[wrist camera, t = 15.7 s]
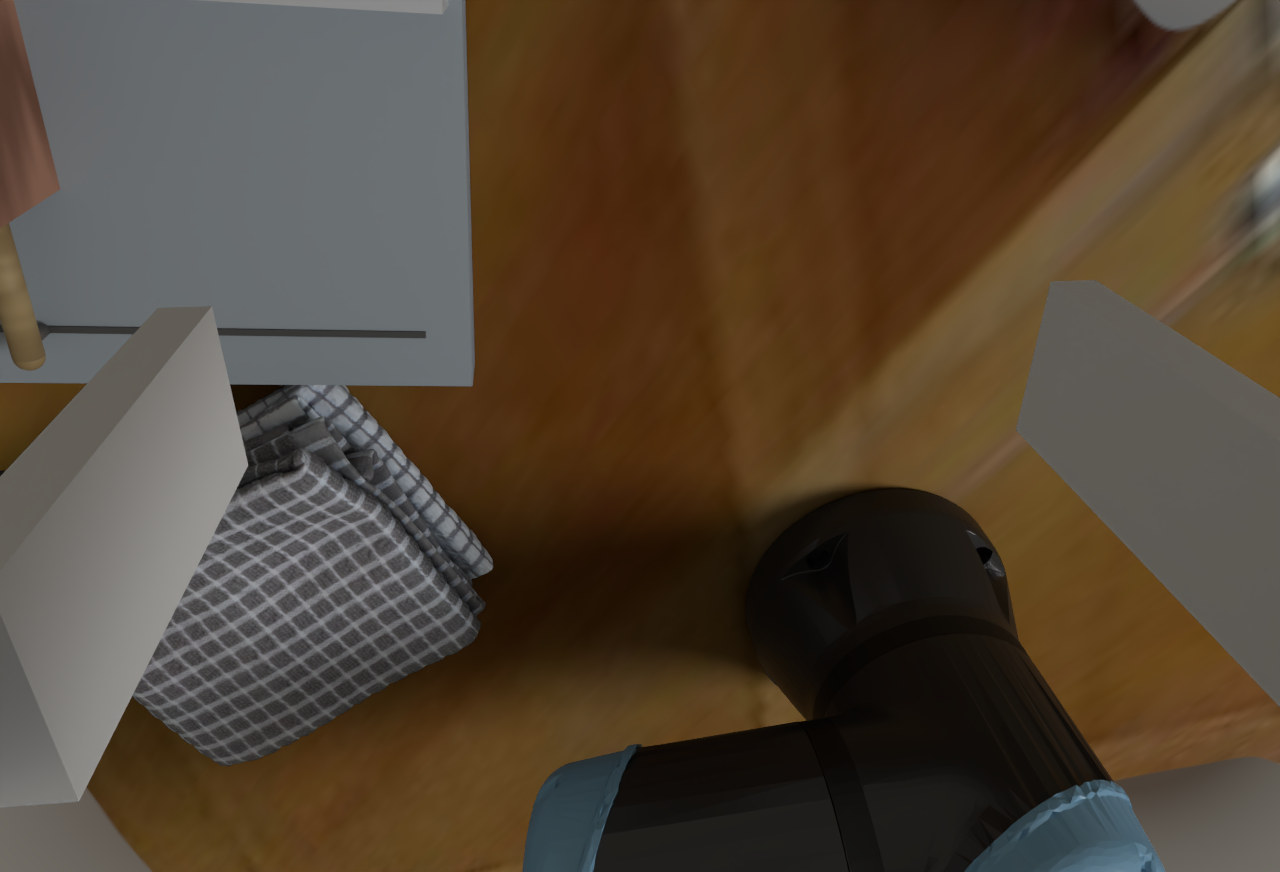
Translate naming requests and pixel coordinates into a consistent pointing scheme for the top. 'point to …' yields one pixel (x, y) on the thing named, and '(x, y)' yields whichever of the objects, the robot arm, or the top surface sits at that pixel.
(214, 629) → the towel
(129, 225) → the board
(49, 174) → the brown blocky piece
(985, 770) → the robot arm
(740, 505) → the top surface
